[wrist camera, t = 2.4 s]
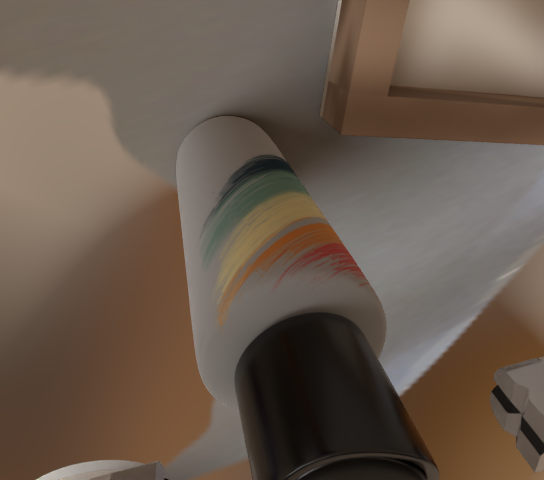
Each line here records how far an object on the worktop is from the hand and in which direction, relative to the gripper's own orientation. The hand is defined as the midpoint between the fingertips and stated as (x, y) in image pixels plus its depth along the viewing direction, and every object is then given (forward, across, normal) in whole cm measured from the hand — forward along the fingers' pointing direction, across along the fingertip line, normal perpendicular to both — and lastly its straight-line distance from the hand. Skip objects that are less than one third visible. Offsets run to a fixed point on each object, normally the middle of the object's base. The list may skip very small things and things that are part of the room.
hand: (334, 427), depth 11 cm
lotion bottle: (+18, 0, 0) cm, 18 cm away
